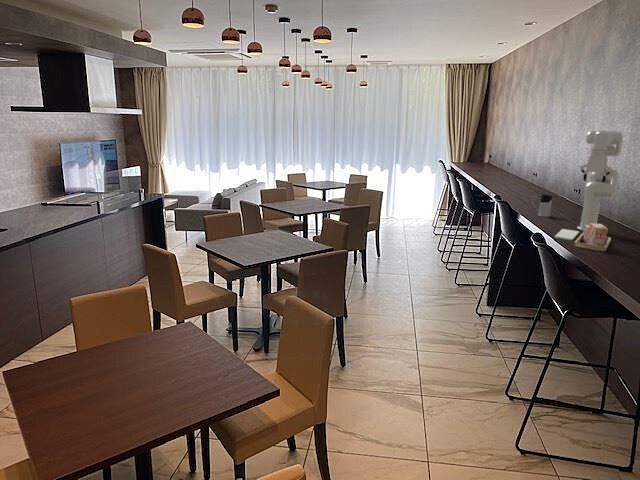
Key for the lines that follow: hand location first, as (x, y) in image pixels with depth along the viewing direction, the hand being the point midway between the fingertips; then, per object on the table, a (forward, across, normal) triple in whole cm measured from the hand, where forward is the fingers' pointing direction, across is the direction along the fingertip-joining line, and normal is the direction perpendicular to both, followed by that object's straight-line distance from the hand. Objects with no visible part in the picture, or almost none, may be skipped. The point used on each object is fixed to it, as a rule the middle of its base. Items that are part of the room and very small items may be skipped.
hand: (593, 181), depth 301 cm
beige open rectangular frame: (+35, -6, +11) cm, 38 cm away
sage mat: (+35, +10, -1) cm, 36 cm away
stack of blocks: (+36, -6, +11) cm, 38 cm away
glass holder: (+33, +39, -59) cm, 78 cm away
